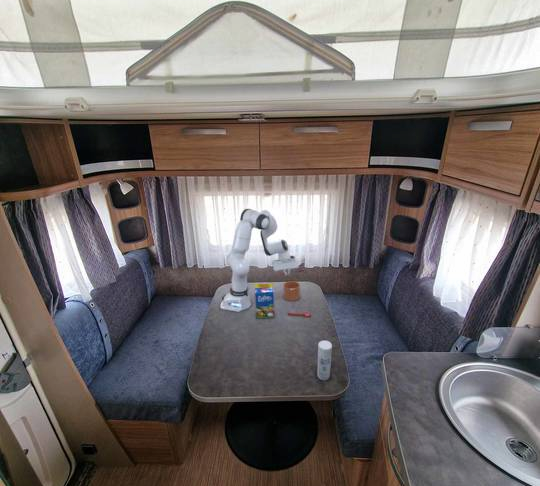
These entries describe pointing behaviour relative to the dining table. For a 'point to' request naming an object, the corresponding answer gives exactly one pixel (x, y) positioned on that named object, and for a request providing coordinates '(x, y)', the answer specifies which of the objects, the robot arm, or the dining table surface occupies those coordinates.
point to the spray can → (324, 359)
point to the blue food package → (264, 300)
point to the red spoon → (300, 314)
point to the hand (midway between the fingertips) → (287, 275)
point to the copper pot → (291, 291)
